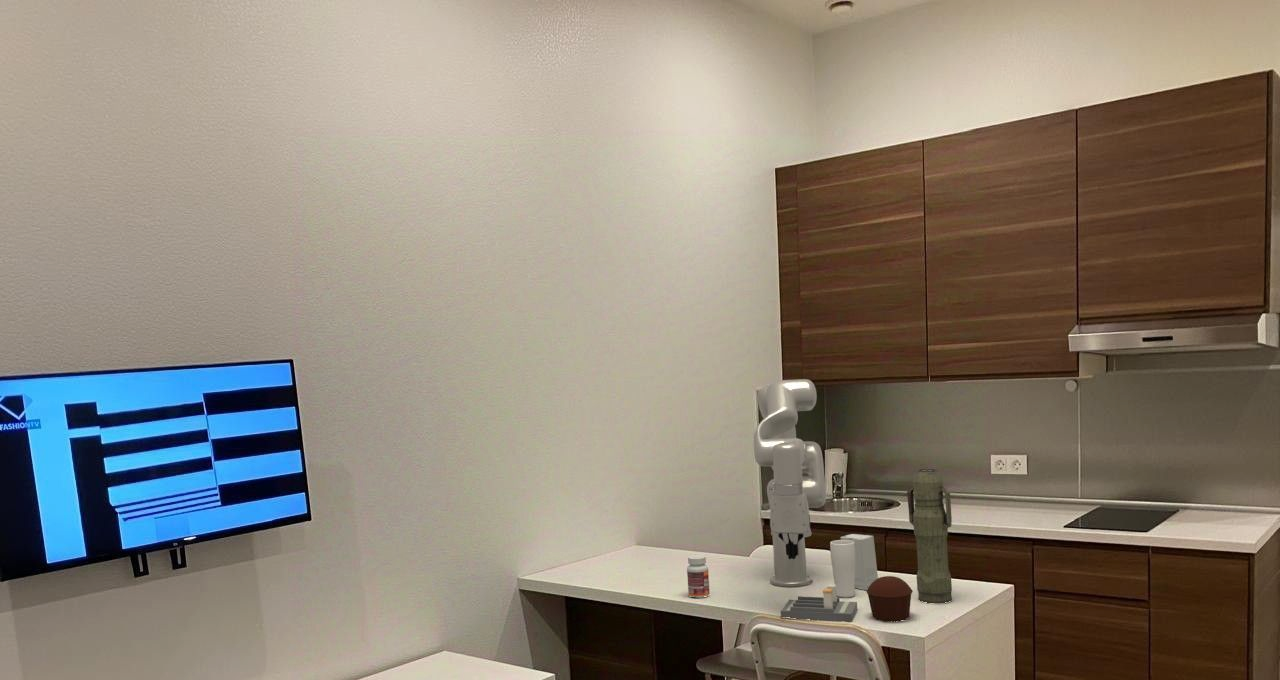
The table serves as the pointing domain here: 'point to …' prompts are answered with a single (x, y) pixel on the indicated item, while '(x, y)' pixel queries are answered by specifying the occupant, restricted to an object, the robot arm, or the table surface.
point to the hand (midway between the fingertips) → (792, 557)
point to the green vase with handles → (931, 535)
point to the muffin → (889, 599)
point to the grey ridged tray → (820, 608)
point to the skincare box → (863, 560)
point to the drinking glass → (843, 567)
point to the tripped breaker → (828, 598)
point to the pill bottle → (697, 576)
